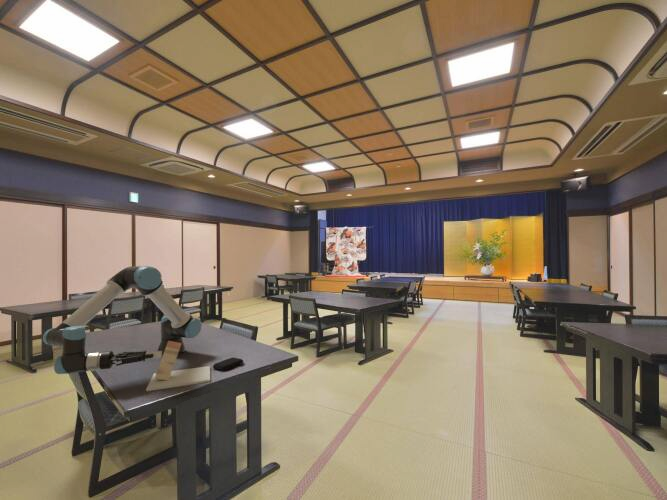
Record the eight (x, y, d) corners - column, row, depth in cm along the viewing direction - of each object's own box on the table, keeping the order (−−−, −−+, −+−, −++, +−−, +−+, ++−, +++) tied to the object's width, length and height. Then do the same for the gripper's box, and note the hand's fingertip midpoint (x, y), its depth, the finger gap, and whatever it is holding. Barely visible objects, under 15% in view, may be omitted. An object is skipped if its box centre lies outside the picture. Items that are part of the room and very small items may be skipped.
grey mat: (146, 391, 132) (146, 389, 132) (153, 375, 151) (153, 373, 151) (210, 381, 142) (210, 379, 142) (210, 367, 161) (210, 366, 161)
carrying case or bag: (225, 373, 154) (246, 364, 167) (225, 367, 154) (246, 359, 167) (211, 369, 159) (232, 361, 172) (211, 363, 159) (233, 356, 172)
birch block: (156, 373, 145) (168, 340, 148) (169, 375, 148) (181, 343, 150) (154, 378, 140) (167, 343, 142) (168, 380, 142) (180, 346, 144)
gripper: (105, 364, 140) (163, 358, 149) (95, 374, 128) (159, 366, 137) (105, 348, 140) (163, 342, 149) (96, 356, 128) (159, 349, 137)
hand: (161, 354), depth 143 cm, fingers closed
